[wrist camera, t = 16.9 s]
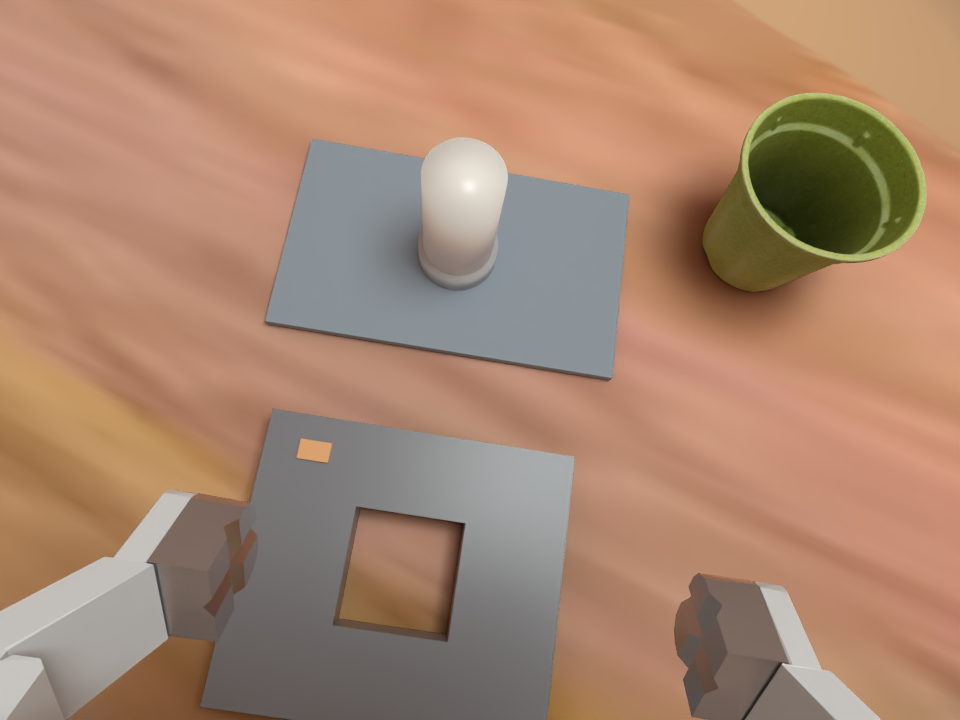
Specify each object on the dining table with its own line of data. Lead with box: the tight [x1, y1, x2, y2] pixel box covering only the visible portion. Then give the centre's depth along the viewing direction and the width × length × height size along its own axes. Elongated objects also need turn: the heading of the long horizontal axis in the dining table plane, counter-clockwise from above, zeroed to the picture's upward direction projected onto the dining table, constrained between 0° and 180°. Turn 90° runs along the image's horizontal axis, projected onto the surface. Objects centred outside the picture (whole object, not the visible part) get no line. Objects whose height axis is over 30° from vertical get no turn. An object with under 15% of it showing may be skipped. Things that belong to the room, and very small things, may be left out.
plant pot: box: [702, 93, 927, 292], centre depth 34 cm, size 9×9×9 cm
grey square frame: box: [200, 409, 575, 720], centre depth 30 cm, size 21×14×2 cm, turn 82°
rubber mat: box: [265, 139, 629, 380], centre depth 36 cm, size 20×12×1 cm, turn 82°
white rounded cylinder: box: [418, 137, 508, 291], centre depth 32 cm, size 5×5×8 cm
